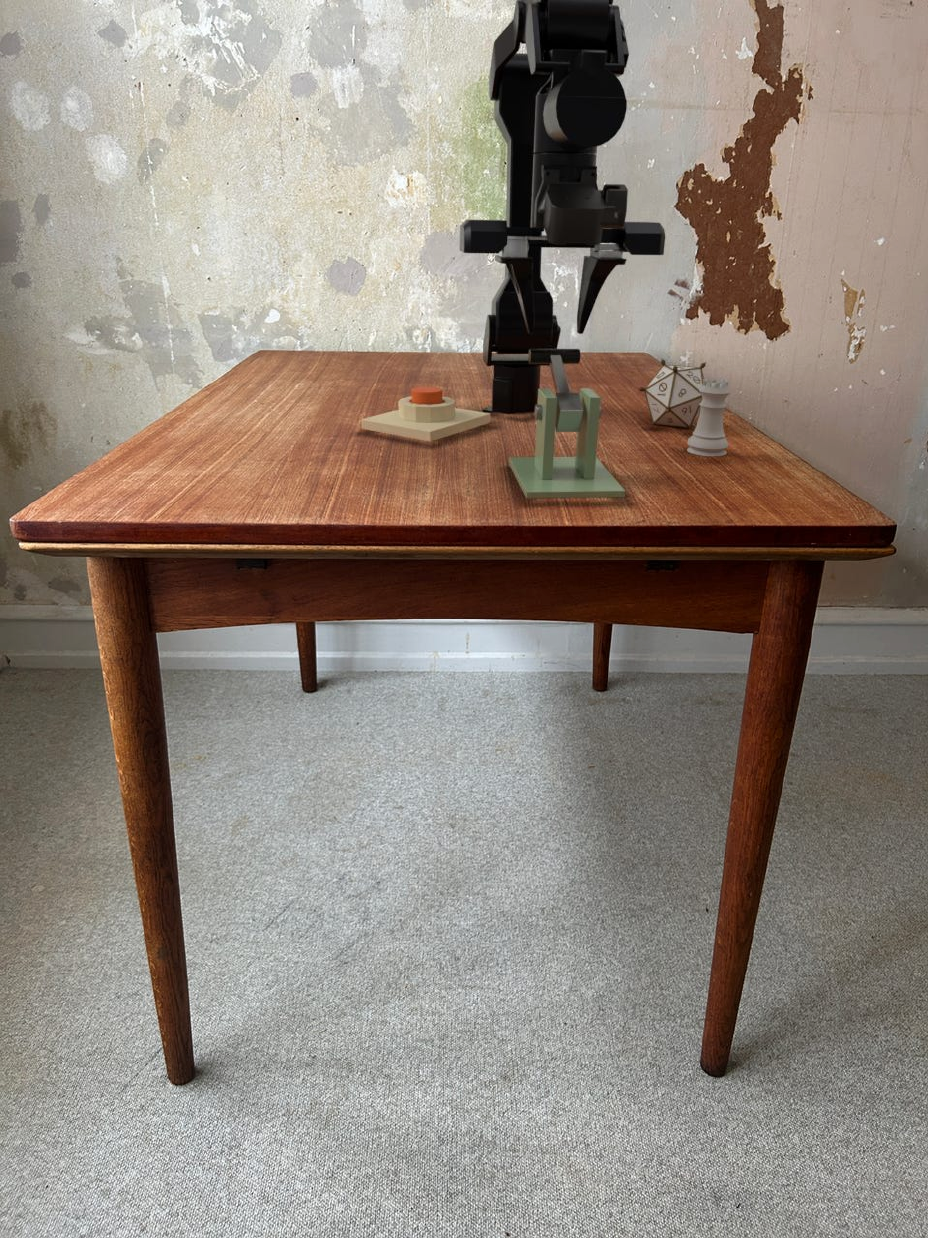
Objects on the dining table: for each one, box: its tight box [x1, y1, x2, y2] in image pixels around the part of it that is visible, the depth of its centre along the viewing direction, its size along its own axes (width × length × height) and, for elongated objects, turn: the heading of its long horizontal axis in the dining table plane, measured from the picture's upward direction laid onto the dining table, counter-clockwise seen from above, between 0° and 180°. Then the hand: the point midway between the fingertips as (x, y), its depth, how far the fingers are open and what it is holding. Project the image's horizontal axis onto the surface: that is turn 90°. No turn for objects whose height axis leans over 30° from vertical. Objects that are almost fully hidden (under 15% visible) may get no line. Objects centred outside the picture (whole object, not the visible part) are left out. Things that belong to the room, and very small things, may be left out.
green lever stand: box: [508, 387, 626, 499], centre depth 84 cm, size 12×9×9 cm
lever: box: [527, 348, 583, 433], centre depth 85 cm, size 11×5×2 cm, turn 5°
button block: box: [360, 395, 491, 442], centre depth 105 cm, size 12×10×4 cm
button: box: [410, 386, 443, 405], centre depth 104 cm, size 4×4×2 cm
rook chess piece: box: [686, 378, 732, 457], centre depth 94 cm, size 4×4×8 cm
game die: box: [637, 358, 707, 430], centre depth 106 cm, size 9×8×10 cm
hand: (555, 333), depth 87 cm, fingers open, 5 cm apart
